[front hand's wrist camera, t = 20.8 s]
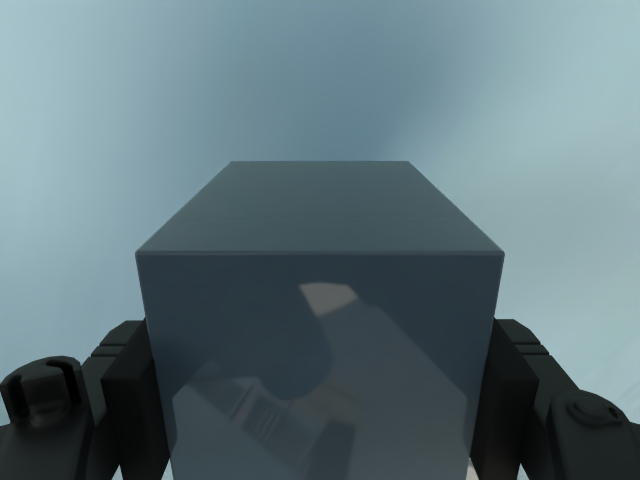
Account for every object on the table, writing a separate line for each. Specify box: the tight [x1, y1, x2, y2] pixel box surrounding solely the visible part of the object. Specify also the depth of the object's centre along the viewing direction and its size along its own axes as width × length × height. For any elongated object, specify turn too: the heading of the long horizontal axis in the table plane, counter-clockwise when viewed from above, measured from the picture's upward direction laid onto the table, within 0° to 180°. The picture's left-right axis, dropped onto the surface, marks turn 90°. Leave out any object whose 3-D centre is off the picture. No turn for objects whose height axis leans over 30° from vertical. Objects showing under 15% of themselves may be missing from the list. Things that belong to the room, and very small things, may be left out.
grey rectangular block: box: [135, 161, 505, 480], centre depth 13 cm, size 7×7×9 cm
